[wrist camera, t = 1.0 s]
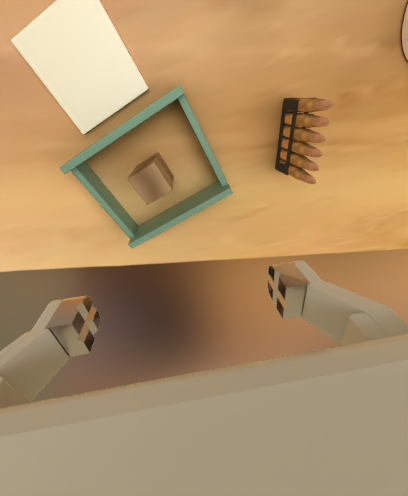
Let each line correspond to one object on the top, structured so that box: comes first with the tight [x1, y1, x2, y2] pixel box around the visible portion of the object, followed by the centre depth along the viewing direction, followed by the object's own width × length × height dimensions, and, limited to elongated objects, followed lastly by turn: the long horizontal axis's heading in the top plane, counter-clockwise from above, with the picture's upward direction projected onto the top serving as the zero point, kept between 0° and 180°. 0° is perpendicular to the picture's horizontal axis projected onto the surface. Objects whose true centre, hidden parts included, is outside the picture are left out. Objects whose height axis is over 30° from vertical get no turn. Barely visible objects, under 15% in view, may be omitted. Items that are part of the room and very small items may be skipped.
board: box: [11, 0, 149, 134], centre depth 30 cm, size 12×12×1 cm
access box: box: [59, 85, 233, 248], centre depth 36 cm, size 20×16×6 cm
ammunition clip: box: [275, 98, 333, 184], centre depth 32 cm, size 11×2×12 cm, turn 3°
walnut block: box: [128, 152, 173, 205], centre depth 35 cm, size 4×4×8 cm
